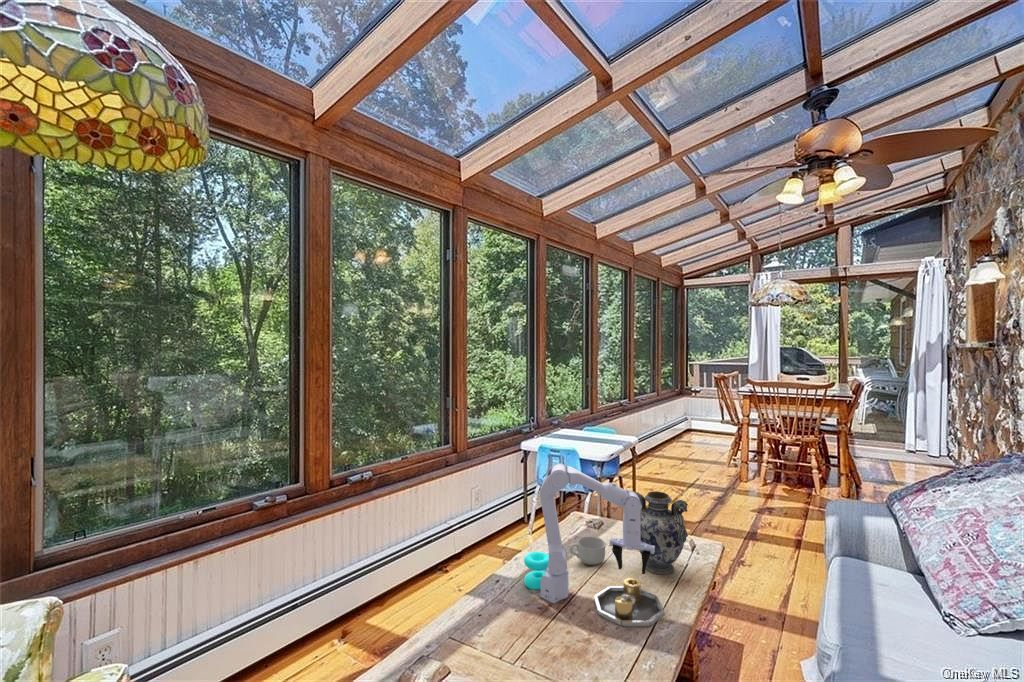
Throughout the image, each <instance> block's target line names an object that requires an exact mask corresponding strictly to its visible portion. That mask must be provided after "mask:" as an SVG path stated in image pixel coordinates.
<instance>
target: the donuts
mask: <svg viewBox="0 0 1024 682" xmlns="http://www.w3.org/2000/svg"><path fill="white" fill-rule="evenodd" d="M523 562H524V565H525V567H526V568H527V569H528V570H532V571H529V572H528V573H527V574H526V575H524V580H523V581H524V582H523V583H524V585H525V586H526V587H527V588H528V589H530V590H534V589H535V590H541V583H540V582H541V578H542V577H543V576H544V575H545V574H546V572H547V567H548V562H549V553H546V552H543V551H532V552H530V553H527V554H526V555H525V557H524V559H523ZM545 570H546V571H545Z"/></svg>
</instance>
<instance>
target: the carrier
mask: <svg viewBox="0 0 1024 682" xmlns="http://www.w3.org/2000/svg"><path fill="white" fill-rule="evenodd" d="M632 585H634V584H632ZM593 601H594V607H595V609H596V612H597V614H598V615H599V616H600V617H603V618H604V619H605V620H607V621H610V622H611V623H613V624H614V623H615V624H616V625H618V626H622V627H631V628H632V627H634V628H635V627H636V628H638V627H639V628H640V627H651V626H652V625H654V624H656V623H658V621H659V620H660V619H661V618H662V617H664V616H665V609H664V608H663V606H662V603H661V601H660V600H659V597H658V596H657V595H656V594H654V593H651V592H649V591H647V590H644V589H642V588H641V598H640V601H636V602H635V597H634V596H633V595H631V594H624V585H608V586H607V587H605V588H604V589H601V590H600V591H599V592H597V593H596V594H594V595H593Z"/></svg>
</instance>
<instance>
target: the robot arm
mask: <svg viewBox="0 0 1024 682" xmlns="http://www.w3.org/2000/svg"><path fill="white" fill-rule="evenodd" d="M568 485H569V487H573V486H576V485H580V486H582V487H585V488H587V489H589V490H590V491H591V490H592V491H594V492H597V493H598V494H600V496H601V499H603V500H605V501H607V502H609V503H612V504H613V505H615V506H618V507H619V508H621V507H622V510H623V514H622V538H613V537H611V538H610V539H609V546H610V547H612V549H611V551H612V553H613V556H614V557H615V560H616V563H617V566H618V570H622V568H623V549H624V548H625V549H626V550H629V551H633V550H635V551H639V550H640V551H643V553H642V555H641V554H640V555H641V563H642V564H641V574H642V575H645V573H646V565H647V562H648V559H649V557H650V555H651V554H654V552H655V546H653V545H649V544H646V543H643V542H641V533H640V511H641V509H642V505H641V502H640V499H639V497H638V495H637V494H636V493H634V492H635V491H633V490H629V489H627V488H626V489H624V488H622V487H620V486H617V483H616V482H614V481H612V482H610V481H609V482H604V483H603V482H601V481H598V480H597V479H595V478H593V477H591V476H589V475H587V474H585V473H584V472H582V471H580V470H578V469H576V468H574V467H572V466H570V465H566V464H564V463H562V462H557V463H554V464H553V465H552V466H551V467H550V468H549V469H548V471H547V472H546V475H545V478H544V479H543V481H542V484H541V487H540V488H539V498H540V503H541V509H542V515H543V521H544V527H545V533H546V539H547V548H548V549H547V550H548V555H549V562H548V567H547V569H546V571H545V572H546V574H545V575H544V576H543V577H542V578H541V582H540V583H541V589H540V596H539V597H538V599H541V600H542V599H543V600H546V601H548V602H550V603H551V604H556V603H557V602H559V601H562V600H564V599H567V598H568V596H569V590H570V589H569V588H570V587H569V586H570V585H569V567H568V563H567V557H568V552H567V550H566V548H565V547H564V544H563V541H562V536H561V531H560V524H559V520H558V519H559V518H558V514H557V513H558V512H557V506H556V502H555V500H556V499H555V495H557V493H558V492H559V491H561V490H563V489H565V488H566V487H567V486H568ZM640 551H639V552H640Z"/></svg>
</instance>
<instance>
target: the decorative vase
mask: <svg viewBox="0 0 1024 682" xmlns="http://www.w3.org/2000/svg"><path fill="white" fill-rule="evenodd" d="M633 492H634V493H636V494H637V495H638V497H639V499H640V502H641V505H642V509H641V511H640V533H641V542H643V543H646V544H649V545H653V546H655V552H654V554H651V555H650V557H649V559H648V562H647V565H646V570H647V572H649V573H651V574H655V575H661V576H663V575H664V576H665V575H671V574H672V573H674V571H675V568H674V565H673V563H674V562H676V561H677V560H678V558H679V557H680V556H681V553H682V551H683V548H684V545H685V543H686V542H687V537H689V533H688V531H687V529H686V526H685V518H684V516H683V513H684V512H685V513H687V512H688V505H689V504H688V503H687V501H686V500H683V499H678V500H675V501H673V500H672V497H670V495H669V494H667V493H666V492H662V491H650V492H648V493H647V494H646V495H645V496H644V495H643V494H641V493H639V492H638V491H633ZM647 503H648V504H647ZM670 503H671V507H670V506H669V504H670ZM669 507H670V508H671V509H669ZM638 551H639V553H640V555H642V553H643V551H640V550H638Z"/></svg>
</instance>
